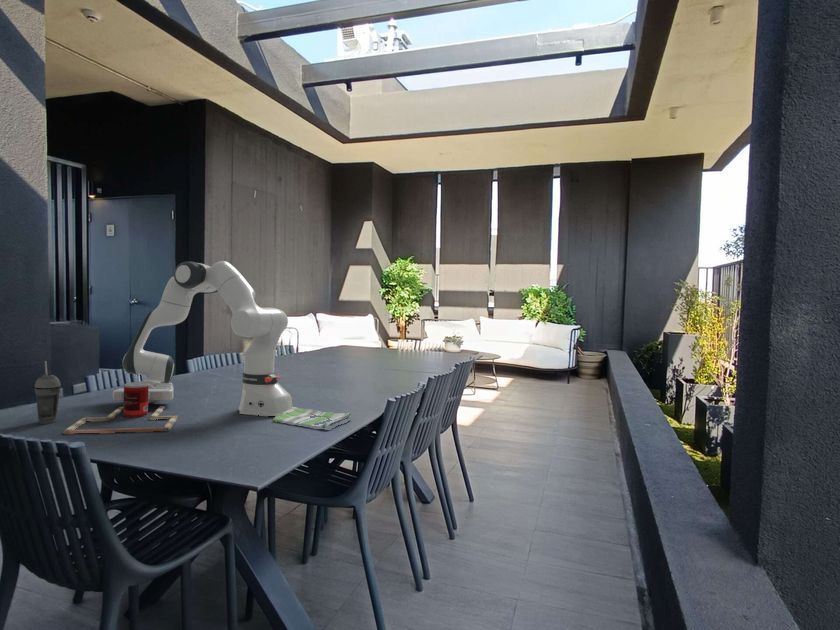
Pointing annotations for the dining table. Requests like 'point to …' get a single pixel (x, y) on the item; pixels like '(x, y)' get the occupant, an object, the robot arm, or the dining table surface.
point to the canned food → (136, 399)
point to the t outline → (153, 417)
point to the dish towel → (303, 418)
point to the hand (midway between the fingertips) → (139, 398)
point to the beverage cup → (47, 397)
